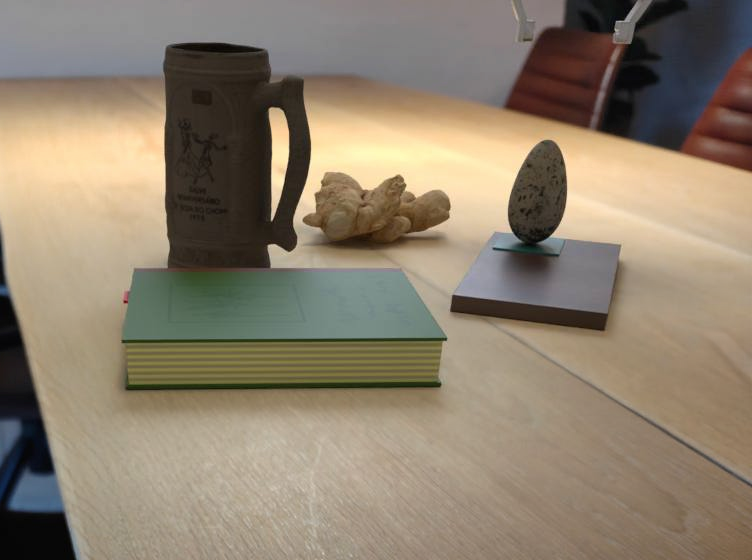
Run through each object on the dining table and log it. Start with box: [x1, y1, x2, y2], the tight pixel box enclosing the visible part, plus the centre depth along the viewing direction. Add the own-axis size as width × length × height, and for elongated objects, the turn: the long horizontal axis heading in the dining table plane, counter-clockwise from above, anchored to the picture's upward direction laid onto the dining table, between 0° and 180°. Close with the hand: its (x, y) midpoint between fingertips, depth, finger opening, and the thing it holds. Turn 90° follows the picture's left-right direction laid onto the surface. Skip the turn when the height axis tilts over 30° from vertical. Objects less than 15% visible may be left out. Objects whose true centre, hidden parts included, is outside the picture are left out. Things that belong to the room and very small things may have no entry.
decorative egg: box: [507, 139, 568, 244], centre depth 96 cm, size 6×6×10 cm
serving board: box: [449, 231, 622, 331], centre depth 93 cm, size 26×14×2 cm, turn 160°
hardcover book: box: [121, 267, 448, 390], centre depth 76 cm, size 25×19×4 cm
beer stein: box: [162, 41, 312, 268], centre depth 88 cm, size 15×11×20 cm
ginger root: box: [301, 171, 452, 244], centre depth 105 cm, size 16×16×8 cm
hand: (572, 43), depth 89 cm, fingers open, 8 cm apart
